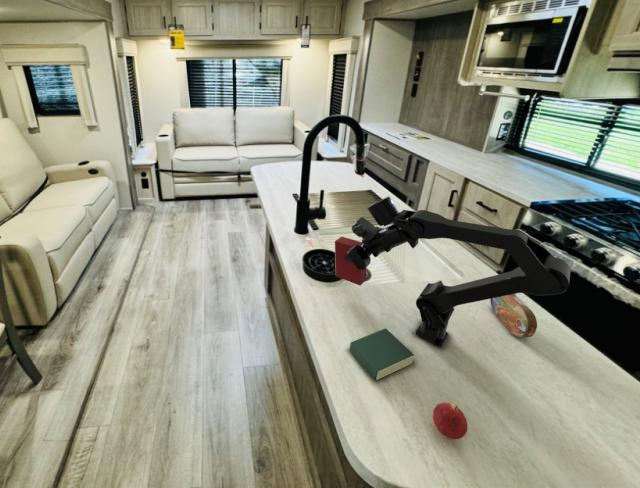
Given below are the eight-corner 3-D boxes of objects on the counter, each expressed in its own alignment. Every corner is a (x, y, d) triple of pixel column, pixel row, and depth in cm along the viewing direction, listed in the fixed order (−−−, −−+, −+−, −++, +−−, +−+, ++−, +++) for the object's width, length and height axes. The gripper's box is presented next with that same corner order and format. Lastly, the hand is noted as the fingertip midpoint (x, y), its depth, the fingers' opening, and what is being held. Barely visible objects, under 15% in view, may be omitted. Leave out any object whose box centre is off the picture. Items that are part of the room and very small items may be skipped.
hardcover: (384, 336, 86) (385, 328, 85) (412, 363, 78) (414, 355, 77) (349, 350, 82) (350, 342, 81) (375, 381, 74) (377, 372, 73)
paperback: (366, 279, 98) (366, 243, 95) (360, 286, 96) (360, 248, 92) (341, 270, 105) (340, 236, 101) (335, 276, 102) (334, 240, 98)
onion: (463, 455, 60) (473, 428, 57) (428, 437, 63) (437, 411, 60) (461, 426, 64) (471, 400, 61) (429, 412, 67) (437, 386, 64)
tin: (486, 303, 97) (494, 281, 93) (498, 304, 96) (506, 282, 93) (519, 343, 83) (529, 319, 80) (532, 345, 82) (543, 320, 79)
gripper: (383, 203, 95) (346, 224, 106) (357, 225, 83) (318, 246, 94) (407, 234, 93) (366, 252, 104) (383, 261, 80) (340, 279, 92)
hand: (348, 256), depth 98 cm, fingers closed on paperback, 4 cm apart
